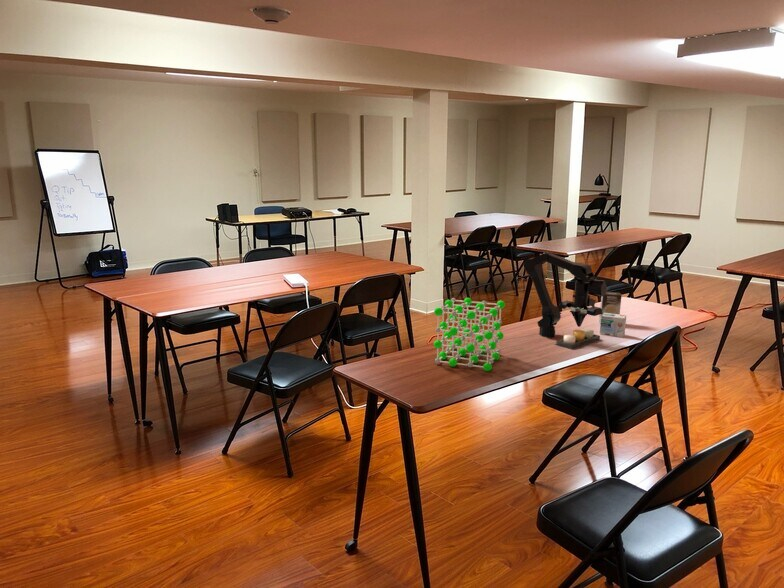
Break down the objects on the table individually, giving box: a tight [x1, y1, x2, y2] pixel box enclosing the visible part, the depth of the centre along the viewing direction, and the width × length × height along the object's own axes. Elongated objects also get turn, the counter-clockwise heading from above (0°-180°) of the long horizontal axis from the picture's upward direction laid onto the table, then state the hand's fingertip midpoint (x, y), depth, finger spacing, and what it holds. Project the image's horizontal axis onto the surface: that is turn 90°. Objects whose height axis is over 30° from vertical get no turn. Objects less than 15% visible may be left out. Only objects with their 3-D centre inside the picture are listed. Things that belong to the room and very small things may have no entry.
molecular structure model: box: [433, 297, 506, 372], centre depth 251 cm, size 24×25×24 cm
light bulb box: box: [599, 313, 627, 338], centre depth 284 cm, size 11×7×11 cm, turn 62°
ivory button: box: [563, 334, 576, 344], centre depth 267 cm, size 5×5×4 cm
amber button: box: [572, 329, 585, 341], centre depth 271 cm, size 5×5×4 cm
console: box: [553, 333, 602, 351], centre depth 272 cm, size 10×23×3 cm, turn 129°
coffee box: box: [598, 291, 623, 325], centre depth 306 cm, size 9×6×16 cm
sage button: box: [582, 328, 595, 338], centre depth 276 cm, size 5×5×4 cm
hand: (579, 326), depth 270 cm, fingers closed
